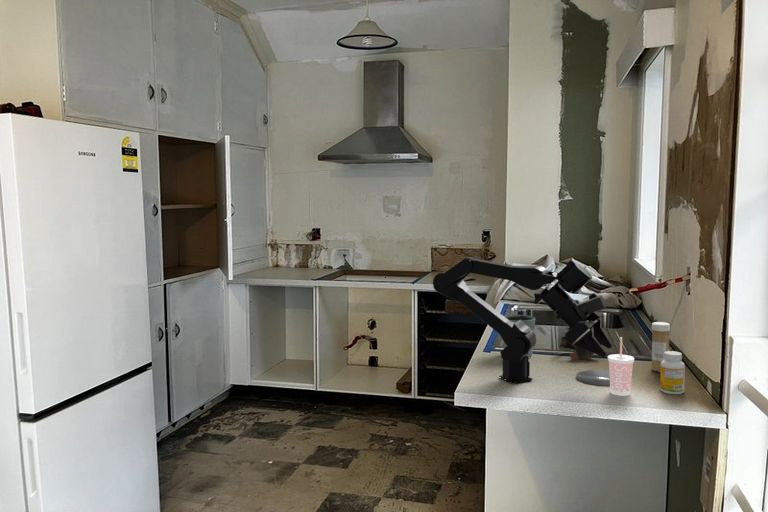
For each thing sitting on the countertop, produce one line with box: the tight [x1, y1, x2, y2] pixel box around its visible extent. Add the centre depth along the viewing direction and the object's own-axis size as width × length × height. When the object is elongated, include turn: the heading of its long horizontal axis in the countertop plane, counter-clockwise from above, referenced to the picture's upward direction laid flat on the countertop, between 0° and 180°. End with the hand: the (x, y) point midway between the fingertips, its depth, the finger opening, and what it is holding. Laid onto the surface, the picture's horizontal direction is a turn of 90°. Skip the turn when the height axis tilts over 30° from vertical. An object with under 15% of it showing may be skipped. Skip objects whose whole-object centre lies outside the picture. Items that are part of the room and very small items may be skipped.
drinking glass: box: [502, 314, 536, 357], centre depth 185 cm, size 10×10×12 cm
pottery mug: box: [559, 335, 602, 361], centre depth 183 cm, size 12×10×8 cm
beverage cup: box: [607, 336, 635, 397], centre depth 148 cm, size 6×6×14 cm
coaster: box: [575, 369, 610, 387], centre depth 160 cm, size 12×12×1 cm
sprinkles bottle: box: [651, 321, 671, 373], centre depth 166 cm, size 5×5×13 cm
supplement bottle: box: [659, 350, 686, 395], centre depth 148 cm, size 5×5×10 cm
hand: (608, 351), depth 149 cm, fingers open, 9 cm apart
